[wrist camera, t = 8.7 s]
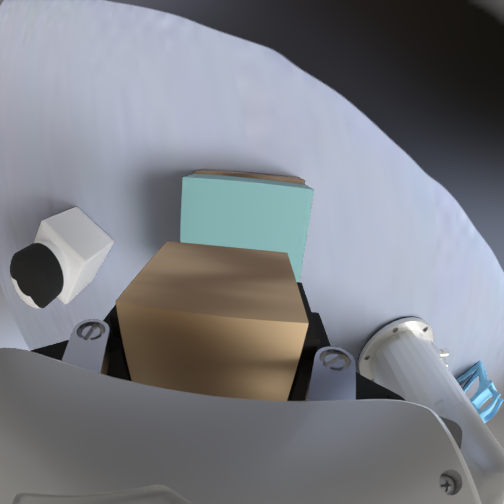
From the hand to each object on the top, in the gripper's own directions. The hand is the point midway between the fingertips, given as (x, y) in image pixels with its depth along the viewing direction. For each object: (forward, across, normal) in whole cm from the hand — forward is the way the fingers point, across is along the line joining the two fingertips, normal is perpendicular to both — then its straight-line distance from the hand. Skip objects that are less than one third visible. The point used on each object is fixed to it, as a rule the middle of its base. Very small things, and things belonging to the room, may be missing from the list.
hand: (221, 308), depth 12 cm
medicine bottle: (+19, +20, +5) cm, 28 cm away
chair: (+18, -48, +26) cm, 58 cm away
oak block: (+1, 0, 0) cm, 1 cm away
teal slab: (+15, -1, +1) cm, 15 cm away
